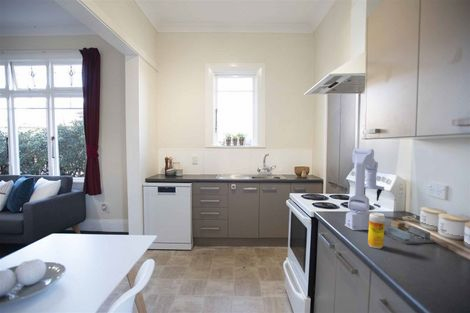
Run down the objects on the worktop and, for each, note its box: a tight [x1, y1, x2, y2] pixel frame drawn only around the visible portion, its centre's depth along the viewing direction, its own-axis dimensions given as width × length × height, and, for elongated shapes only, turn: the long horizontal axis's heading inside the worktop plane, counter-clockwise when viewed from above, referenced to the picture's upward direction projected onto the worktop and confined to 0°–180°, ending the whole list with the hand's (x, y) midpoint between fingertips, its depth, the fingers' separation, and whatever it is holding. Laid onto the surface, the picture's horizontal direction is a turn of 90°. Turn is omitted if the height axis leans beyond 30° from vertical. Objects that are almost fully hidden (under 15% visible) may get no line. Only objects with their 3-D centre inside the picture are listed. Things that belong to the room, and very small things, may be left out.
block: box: [390, 220, 406, 231], centre depth 131 cm, size 4×4×5 cm
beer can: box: [367, 211, 386, 249], centre depth 111 cm, size 6×6×15 cm
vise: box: [385, 225, 435, 245], centre depth 121 cm, size 16×12×4 cm
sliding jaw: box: [387, 225, 410, 240], centre depth 120 cm, size 3×10×3 cm, turn 10°
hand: (370, 199), depth 159 cm, fingers open, 7 cm apart
